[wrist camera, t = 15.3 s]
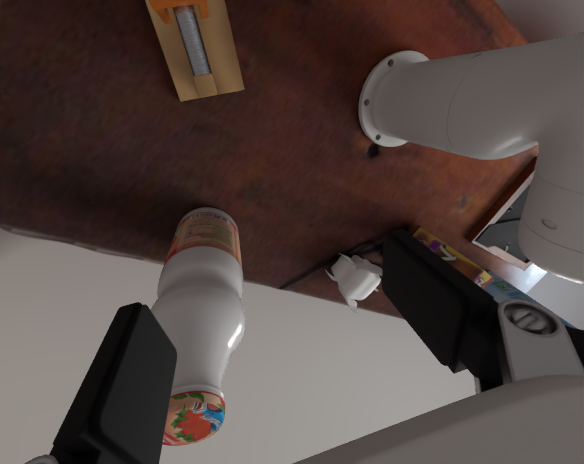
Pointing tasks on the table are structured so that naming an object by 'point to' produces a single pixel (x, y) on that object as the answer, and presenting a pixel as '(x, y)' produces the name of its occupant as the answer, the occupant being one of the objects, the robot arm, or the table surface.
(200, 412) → the fruit juice
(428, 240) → the candy box
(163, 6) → the clip
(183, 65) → the rail stand
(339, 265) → the elephant figurine
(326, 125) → the table surface
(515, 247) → the picture frame
